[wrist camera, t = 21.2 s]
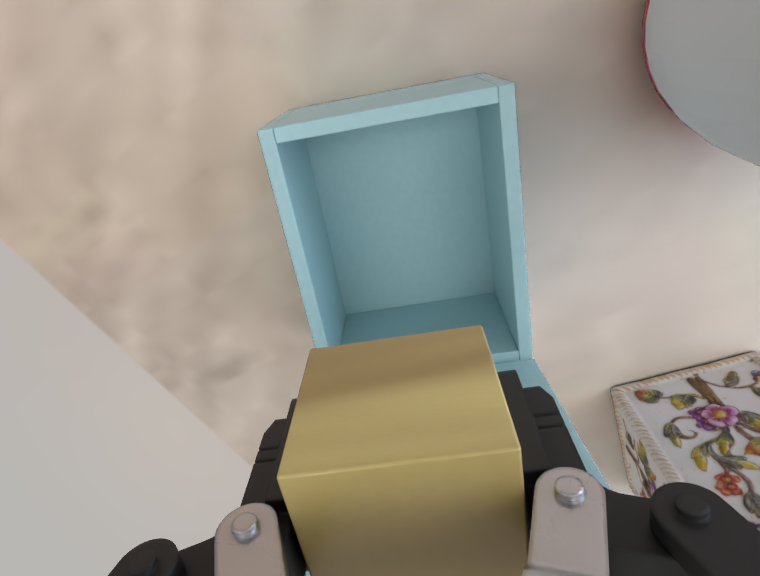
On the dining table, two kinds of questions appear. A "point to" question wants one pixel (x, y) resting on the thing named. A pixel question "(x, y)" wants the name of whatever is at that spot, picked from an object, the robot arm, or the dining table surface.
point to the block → (406, 460)
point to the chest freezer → (406, 213)
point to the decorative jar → (695, 431)
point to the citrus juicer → (708, 68)
